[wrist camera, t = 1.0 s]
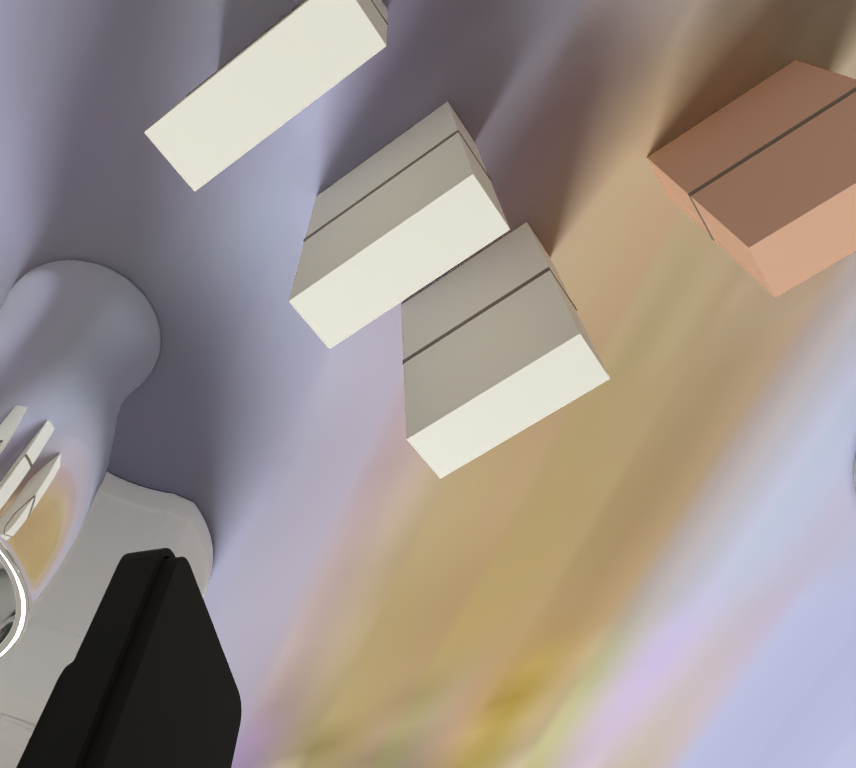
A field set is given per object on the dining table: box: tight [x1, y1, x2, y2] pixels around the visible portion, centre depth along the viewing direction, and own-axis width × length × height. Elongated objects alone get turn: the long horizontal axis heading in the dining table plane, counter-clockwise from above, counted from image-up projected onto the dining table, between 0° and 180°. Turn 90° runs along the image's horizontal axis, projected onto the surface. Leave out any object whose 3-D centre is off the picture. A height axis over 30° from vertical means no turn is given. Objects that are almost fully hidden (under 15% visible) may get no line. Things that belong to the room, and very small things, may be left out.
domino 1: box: [144, 0, 388, 192], centre depth 24 cm, size 2×6×10 cm, turn 125°
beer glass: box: [0, 260, 161, 660], centre depth 27 cm, size 7×7×15 cm
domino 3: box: [401, 222, 610, 479], centre depth 29 cm, size 2×6×10 cm, turn 125°
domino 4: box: [647, 60, 856, 298], centre depth 26 cm, size 2×6×10 cm, turn 125°
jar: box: [0, 471, 213, 768], centre depth 32 cm, size 12×10×15 cm
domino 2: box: [289, 101, 510, 349], centre depth 26 cm, size 2×6×10 cm, turn 125°
